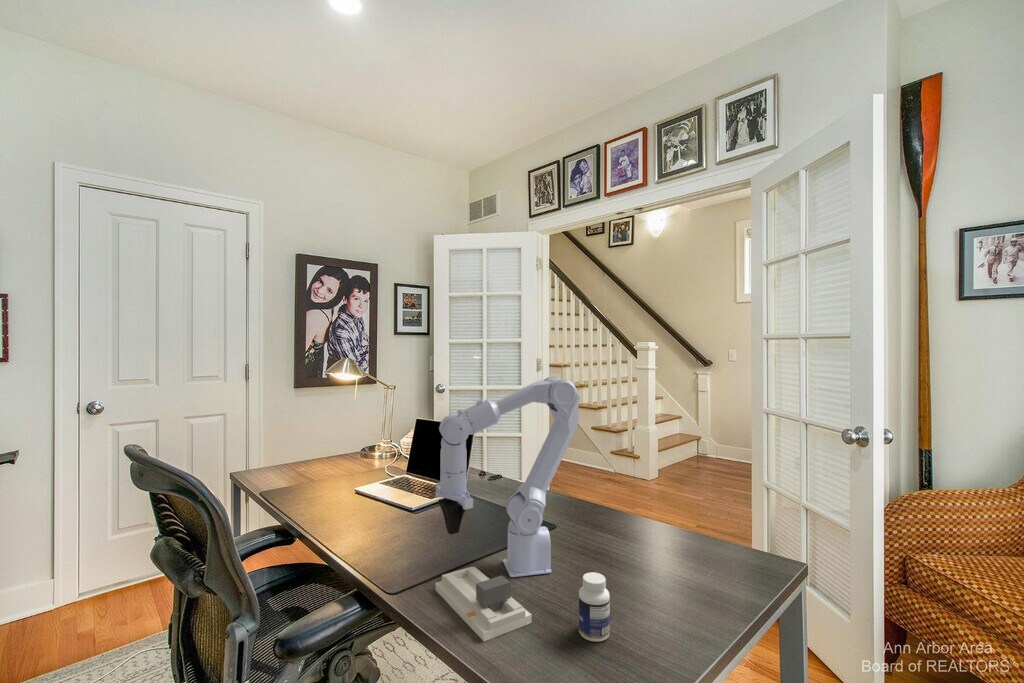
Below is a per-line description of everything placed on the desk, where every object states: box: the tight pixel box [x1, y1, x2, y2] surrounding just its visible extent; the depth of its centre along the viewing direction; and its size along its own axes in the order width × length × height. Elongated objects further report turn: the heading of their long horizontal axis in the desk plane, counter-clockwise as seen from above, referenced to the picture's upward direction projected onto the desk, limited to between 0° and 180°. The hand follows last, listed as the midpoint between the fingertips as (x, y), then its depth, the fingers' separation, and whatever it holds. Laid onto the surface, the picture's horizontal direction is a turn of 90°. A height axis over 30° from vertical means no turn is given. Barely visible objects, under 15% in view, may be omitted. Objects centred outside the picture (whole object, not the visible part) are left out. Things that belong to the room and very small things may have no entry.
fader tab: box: [476, 575, 511, 611], centre depth 87 cm, size 3×6×5 cm, turn 123°
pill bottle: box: [578, 571, 611, 643], centre depth 82 cm, size 5×5×10 cm
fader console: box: [435, 566, 533, 642], centre depth 91 cm, size 20×10×3 cm, turn 33°
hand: (453, 532), depth 103 cm, fingers closed
